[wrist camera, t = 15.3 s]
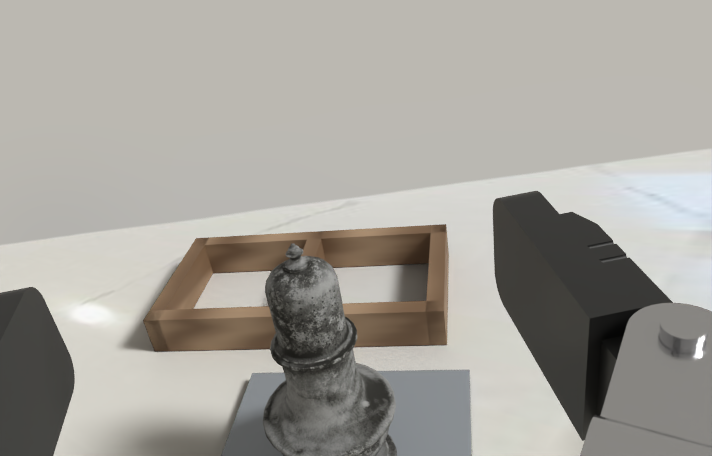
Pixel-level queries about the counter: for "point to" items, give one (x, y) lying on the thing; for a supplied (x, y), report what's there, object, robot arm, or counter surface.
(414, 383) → the slate tile
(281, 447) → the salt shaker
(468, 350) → the counter surface
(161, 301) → the spice caddy
